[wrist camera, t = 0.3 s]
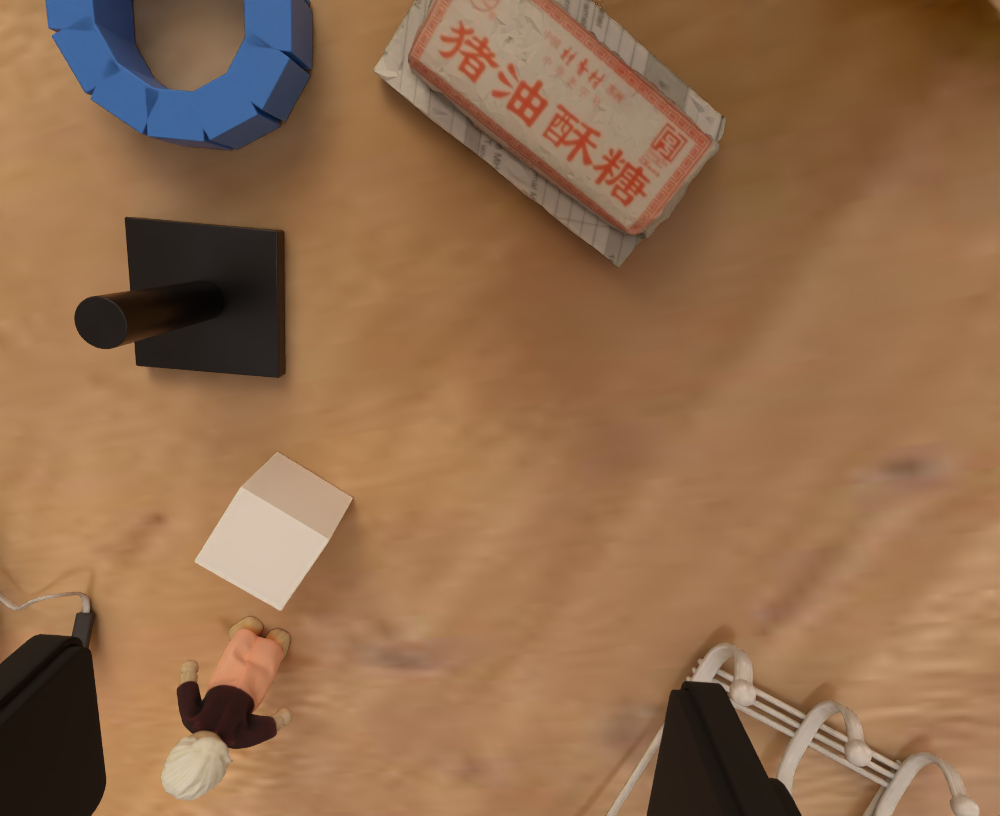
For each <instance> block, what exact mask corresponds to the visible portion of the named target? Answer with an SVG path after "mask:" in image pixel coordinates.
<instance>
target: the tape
mask: <svg viewBox="0 0 1000 816" xmlns="http://www.w3.org/2000/svg"><path fill="white" fill-rule="evenodd" d="M132 1H133V0H46V9H47V18H48V27H49V29H51V30H53V31H56V32H57V33H55V34H53V35H52V38H53V39H54V41H55V43H56V44H57V46H58V48H59V49H60V51H61V53H62V54H63V56H64V58H65V60H66V61H67V63H68V65H69V66H70V68H71V70H72V71H73V73H74V75H75V76H76V78H77V80H78V81H79V83H80V85H81V87H82V88H83V90H84V92H85V93H87V94H90V95H92V96H91V100H92V101H94V102H95V103H97V104H98V105H100V106H101V107H103V108H104V109H106V110H107V111H109V112H110V113H112V114H113V115H114V116H116V117H117V118H119V119H120V120H122V121H123V122H125V123H126V124H128V125H129V126H131V127H132V128H134V129H135V130H136V131H138V132H139V133H141V134H144V135H148V136H149V137H152V138H155V139H159V140H163V141H166V142H170V143H173V144H177V145H180V146H188V147H199V148H210V149H221V150H232V148H235V149H239V148H241V147H243V146H245V145H247V144H249V143H251V142H252V141H254V140H256V139H258V138H260V137H262V136H264V135H266V134H267V133H269V132H271V131H273V130H275V129H277V128H279V127H280V126H281V125H280V123H279V121H278V119H280V120H282V121H284V122H285V121H286V119H287V117H288V116H289V114H290V112H291V110H292V108H293V107H294V105H295V103H296V101H297V99H298V98H299V96H300V94H301V92H302V90H303V88H304V87H305V85H306V83H307V81H308V79H309V78H310V75H309V74H308V73H307V72H306V71H305V70H303V69H310V70H311V69H312V10H311V9H310V8H309V6H308V5H309V4H310V1H309V0H244V9H245V39H244V41H243V42H242V44H241V46H240V48H239V50H238V52H237V54H236V56H235V58H234V60H233V62H232V64H231V66H230V68H229V70H228V71H227V73H226V74H224V75H222V76H221V77H219V78H217V79H215V80H213V81H211V82H210V83H208V84H206V85H204V86H202V87H201V88H199V89H197V90H195V91H193V92H192V91H181V90H171V89H168V88H166V87H165V86H164V85H162V84H161V83H159V82H158V81H156V80H155V79H154V77H153V75H152V74H151V72H150V70H149V68H148V67H147V65H146V63H145V61H144V59H143V58H142V56H141V54H140V52H139V50H138V49H137V47H136V45H135V37H134V23H133V8H132ZM277 118H278V119H277Z"/></svg>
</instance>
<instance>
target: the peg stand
mask: <svg viewBox="0 0 1000 816" xmlns="http://www.w3.org/2000/svg"><path fill="white" fill-rule="evenodd" d="M125 227H126V240H127V253H128V266H129V279H130V291H126V292H119V293H113V294H106V295H99V296H93V297H89V298H86V299H85V300H83V301H82V302H81V303H80V304H79V305H78V307H77V309H76V311H75V317H74V318H75V325H76V328H77V331H78V332H79V334H80V335H81V337H82V338H83V339H84V340H85V341H86V342H88V343H89V344H91V345H92V346H95V347H97V348H101V349H111V348H115V347H119V346H122V345H125V344H129V343H132V342H134V343H135V356H136V365H137V366H145V367H157V368H169V369H181V370H193V371H204V372H216V373H228V374H240V375H252V376H264V377H275V378H279V377H281V376H282V375H284V374H285V306H284V232H283V231H281V230H270V229H259V228H248V227H237V226H226V225H214V224H203V223H192V222H181V221H170V220H159V219H148V218H137V217H125Z"/></svg>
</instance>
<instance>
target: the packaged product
mask: <svg viewBox="0 0 1000 816" xmlns="http://www.w3.org/2000/svg"><path fill="white" fill-rule="evenodd" d="M373 71H374V72H375V73H376V74H377V75H379V76H380V77H381V78H382V79H383V80H385V81H386V82H387V83H388V84H389V85H391V86H392V87H393V88H394V89H395V90H397V91H398V92H399V93H400V94H401V95H402V96H404V97H405V98H406V99H407V100H408V101H410V102H411V103H412V104H413V105H414V106H415V107H417V108H418V109H419V110H420V111H421V112H422V113H424V114H425V115H426V116H427V117H428V118H429V119H431V120H432V121H433V122H435V123H436V124H437V125H439V126H440V127H442V128H443V129H444V130H446V131H447V132H448V133H450V134H451V135H452V136H454V137H455V138H456V139H457V140H459V141H460V142H461V143H463V144H464V145H465V146H467V147H468V148H469V149H470V150H472V151H473V152H474V153H476V154H477V155H478V156H480V157H481V158H482V159H483V160H485V161H486V162H487V163H489V164H490V165H491V166H492V167H493V168H495V169H496V170H497V171H498V172H499V173H500V174H501V175H503V176H504V177H505V178H506V179H507V180H508V181H509V182H511V183H512V184H513V185H514V186H515V187H516V188H518V189H519V190H520V191H521V192H522V193H523V194H525V195H526V196H527V197H529V198H530V199H532V200H533V201H535V202H537V203H538V204H540V205H541V206H543V207H544V208H545V209H546V211H547V212H548V213H550V214H551V215H552V216H553V217H555V218H556V219H557V220H558V221H559V222H561V223H562V224H563V225H564V226H566V227H567V228H568V229H569V230H570V231H572V232H573V233H574V234H576V235H577V236H578V237H580V238H581V239H583V240H584V241H586V242H587V243H588V244H590V245H591V246H593V247H594V248H596V249H597V250H598V251H599V252H600V253H601V254H603V255H604V256H605V257H606V258H607V259H608V260H609V261H611V262H612V263H613V264H614V265H615V266H616V267H617V268H619V267H620V266H621V264H622V263H623V262H624V261H625V259H626V258H627V257H628V256H629V255H630V253H631V252H632V251H633V250H634V248H635V247H636V246H637V245H638V243H639V242H640V241H641V240H642V238H646V239H648V238H649V237H650V236H651V235H652V234H653V233H654V231H655V229H656V228H657V226H658V225H659V224H660V223H661V222H662V221H664V220H666V219H668V218H669V216H670V215H671V213H672V212H673V210H674V209H675V207H676V206H677V204H678V203H679V202H680V200H681V199H682V197H683V196H684V194H685V193H686V191H687V188H688V186H689V183H690V182H691V181H692V180H693V178H695V177H696V176H697V175H698V174H699V173H700V170H701V169H702V168H703V166H704V165H705V163H706V162H707V160H709V159H710V158H712V157H713V156H714V155H715V154H716V153H717V152H718V150H719V147H720V145H719V144H718V141H719V140H720V139H721V137H722V136H723V132H724V126H725V120H726V118H725V117H724V116H722V115H721V114H720V113H718V112H717V111H716V110H714V109H713V108H712V107H711V106H710V105H709V104H708V103H707V102H705V101H704V100H703V99H702V98H701V97H700V96H699V95H698V94H697V93H695V92H694V91H693V90H692V89H691V88H690V87H689V86H687V85H686V84H685V83H684V82H683V81H682V80H680V79H679V78H678V77H677V76H676V75H675V74H674V73H672V72H671V71H670V70H669V69H668V68H667V67H666V66H665V65H664V64H662V63H661V62H660V61H659V60H657V59H656V58H655V56H654V55H653V54H651V53H650V52H649V51H647V50H646V49H645V48H644V47H643V46H642V45H641V44H640V43H639V42H637V41H636V40H635V39H634V38H633V37H632V36H631V35H630V34H629V33H628V32H627V31H626V30H625V29H624V28H623V27H622V26H621V25H619V24H618V23H617V22H615V21H614V20H613V19H612V18H610V17H609V16H608V15H607V14H606V13H605V12H604V11H603V10H602V9H601V8H600V7H599V6H597V5H596V4H595V3H594V2H593V1H591V0H415V2H414V3H413V5H412V7H411V8H410V10H409V12H408V13H407V15H406V16H405V18H404V20H403V21H402V23H401V24H400V26H399V28H398V29H397V31H396V33H395V34H394V36H393V38H392V39H391V41H390V43H389V44H388V46H387V48H386V49H385V51H384V53H383V56H382V57H381V59H380V60H379V62H378V63H377V65H376V67H375V68H374V70H373Z"/></svg>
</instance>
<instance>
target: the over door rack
mask: <svg viewBox="0 0 1000 816" xmlns="http://www.w3.org/2000/svg"><path fill="white" fill-rule="evenodd" d="M731 656H734V676H733V675H731V674H729V673H728V672H726V671H724V670H722V669H720V667H721V665H722V664H723V663H724V662H725V661H726V660H727V659H728V658H730V657H731ZM697 662H698V664H699V666H698V668H692V672H693V676H692V677H690V676H688V677H687V678H686V681H697V682H710V683H719V684H721V685H722V686H723V687H724V689H725V691H727V692H728V693H730V696H731V698H732V699H731V698H730V697H729V699H730V701H731V703H732V705H733V707H735V708H736V709H738V710H740V711H742V712H744V713H746V714H748V715H750V716H752V717H754V718H755V719H757V720H759V721H761V722H763V723H765V724H767V725H769V726H771V727H773V728H774V729H776V730H778V731H780V732H782V733H784V734H786V735H788V736H790V737H792V739H791V741H790V742H789V744H788V746H787V747H786V749H785V751H784V754H783V756H782V758H781V761H780V763H779V766H778V769H777V773H776V779H778V780H780V781H781V782H782V783H783V784H784V785H785V786H786V788H787V789H788V791H789V793H790V794H791V796H792V783H793V777H794V774H795V771H796V768H797V766H798V763H799V761H800V759H801V757H802V756H803V754H804V752H805V750H806V749H807V747H810V748H812V749H814V750H816V751H818V752H820V753H821V754H823V755H825V756H827V757H829V758H831V759H833V760H834V761H836V762H838V763H840V764H842V765H844V766H846V767H848V768H850V769H852V770H853V771H855V772H857V773H859V774H861V775H863V776H865V777H866V778H868V779H870V780H872V781H874V782H876V783H878V784H880V785H881V787H880V788H879V790H878V791H877V793H876V794H875V796H874V798H873V800H872V801H871V803H870V804H869V806H868V808H867V809H866V811H865V812H864V814H863V815H862V816H873V815H874V816H891V815H892V813H893V811H894V809H895V807H896V805H897V803H898V801H899V800H900V798H901V796H902V795H903V793H904V792H905V790H906V789H907V787H908V785H909V784H910V782H911V781H912V779H913V778H914V776H915V775H916V773H917V772H918V771H919V770H920V769H921V768H922V767H924V766H926V765H928V764H932V763H934V764H937V765H938V766H939V767H940V768H941V769H942V771H943V773H944V775H945V778H946V780H947V782H948V785H949V788H950V791H951V794H952V798H951V800H950V806H951V809H952V811H953V813H954V814H955V815H956V816H979V813H980V810H979V807H978V805H977V803H976V802H975V801H974V800H973V799H972V798H970V797H969V796H967V793H966V790H965V787H964V784H963V782H962V779H961V777H960V775H959V773H958V772H957V771H956V769H955V768H954V767H953V766H952V765H951V764H949V763H948V762H947V761H945V760H943V759H941V758H939V757H937V756H935V755H933V754H931V753H928V752H918V753H915V754H912V755H910V756H908V757H906V759H905V760H904V761H903V763H902V762H900V761H898V760H896V761H895V762H893V761H892V760H890V759H888V758H886V757H884V756H883V755H881V754H879V753H877V752H875V751H873V750H872V749H870V748H869V747H868V746H867V744H866V743H865V741H864V735H863V729H862V725H861V722H860V720H859V718H858V717H857V715H856V714H855V713H854V712H853V711H852V710H851V709H849V708H847V707H845V706H843V705H841V704H840V703H838V702H836V701H834V700H825V701H822V702H819V703H817V704H816V705H815V706H814V707H813V708H812V709H811V710H810V711H809V712H808V714H807V715H806V714H804V713H802V712H801V711H799V710H797V709H795V708H793V707H791V706H790V705H788V704H786V703H784V702H782V701H780V700H778V699H776V698H775V697H773V696H771V695H769V694H767V693H765V692H763V691H761V690H760V689H758V688H756V687H754V686H753V682H752V681H753V668H752V663H751V660H750V657H749V656H748V654H747V653H746V652H745V651H743V650H742V649H739V648H738V647H735V646H734V645H733V644H731V643H727V642H724V643H720V644H717V645H715V646H714V647H712V649H711V650H710V651H709V652H708V653H707V654H706V655H705V657H704V658H703V660H702V659H698V660H697ZM715 674H717V675H719V676H721V677H723V678H725V679H727V680H729V681H730V682H732V683H731V685H730V686H729V685H727V684H725V683H723V682H722V681H720V680H718V679H716V678H714V676H715ZM756 695H757V696H759V697H761V698H763V699H765V700H766V701H768V702H770V703H772V704H774V705H776V706H778V707H780V708H782V709H783V710H785V711H787V712H789V713H791V714H793V715H795V716H797V717H799V718H801V719H803V721H802V723H801V724H800V723H799V722H797V721H795V720H793V719H791V718H789V717H788V716H786V715H784V714H782V713H780V712H778V711H776V710H774V709H773V708H771V707H769V706H767V705H765V704H763V703H761V702H759V701H757V700H756ZM749 705H753V706H755V707H757V708H759V709H761V710H763V711H764V712H766V713H768V714H770V715H772V716H774V717H776V718H778V719H779V720H781V721H783V722H785V723H787V724H789V725H791V726H793V727H795V728H797V731H796V732H793V731H792V730H790V729H788V728H786V727H784V726H782V725H780V724H778V723H777V722H775V721H773V720H771V719H769V718H767V717H765V716H763V715H762V714H760V713H758V712H756V711H754V710H752V709H750V708H748V707H746V706H749ZM838 712H841V713H842V715H843V717H844V720H845V725H846V731H847V736H846V735H844V734H842V733H840V732H838V731H837V730H835V729H833V728H831V727H829V726H827V725H825V724H823V722H824V721H825V720H826V719H827V718H828V717H829V716H831V715H832V714H834V713H838ZM664 722H665V721H664ZM664 722H663V724H662V726H661V727H660V729H659V730H658V732H657V734H656V735H655V737H654V738H653V740H652V742H651V743H650V745H649V746H648V748H647V750H646V751H645V753H644V754H643V756H642V758H641V759H640V761H639V763H638V764H637V766H636V767H635V769H634V771H633V772H632V774H631V775H630V777H629V779H628V780H627V782H626V783H625V785H624V787H623V788H622V790H621V791H620V793H619V795H618V796H617V798H616V799H615V801H614V802H613V804H612V806H611V807H610V809H609V810H608V812H607V814H606V815H605V816H615V815H616V814H617V812H618V810H619V809H620V807H621V805H622V804H623V802H624V801H625V799H626V798H627V796H628V794H629V793H630V791H631V790H632V788H633V786H634V785H635V783H636V782H637V780H638V779H639V777H640V775H641V774H642V772H643V771H644V769H645V767H646V766H647V764H648V763H649V761H650V760H651V758H652V756H653V755H654V753H655V752H656V750H657V748H658V747H659V745H660V743H661V738H662V733H663V728H664ZM818 729H821V730H823V731H825V732H827V733H829V734H830V735H832V736H834V737H836V738H838V739H840V740H841V741H843V742H845V743H846V744H845V746H842V745H840V744H838V743H836V742H835V741H833V740H831V739H829V738H827V737H825V736H823V735H822V734H820V733H818V732H817V731H818ZM813 737H814V738H815V739H817V740H819V741H821V742H823V743H825V744H827V745H829V746H831V747H832V748H834V749H836V750H838V751H840V752H842V753H844V754H845V755H846V757H847V759H848V760H849V761H848V760H846V759H844V758H842V757H841V756H839V755H837V754H835V753H833V752H831V751H829V750H827V749H826V748H824V747H822V746H820V745H818V744H816V743H814V742H812V739H813ZM872 757H873V758H874V759H876V760H878V761H880V762H882V763H884V764H885V765H887V766H889V767H891V770H890V771H888V770H887V769H885V768H883V767H881V766H879V765H877V764H876V763H874V762H872V761H871V759H872ZM859 766H862V767H863V766H868V767H870V768H871V769H873V770H875V771H877V772H879V773H881V774H883V775H885V776H886V778H885V780H884V779H882V778H880V777H878V776H876V775H874V774H872V773H871V772H869V771H867V770H865V769H863V768H861V767H859ZM792 798H793V797H792Z"/></svg>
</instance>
